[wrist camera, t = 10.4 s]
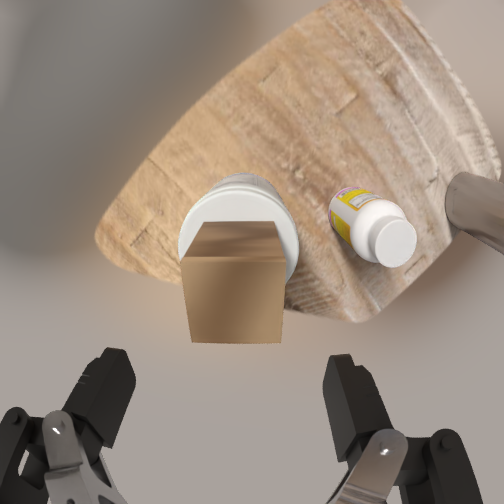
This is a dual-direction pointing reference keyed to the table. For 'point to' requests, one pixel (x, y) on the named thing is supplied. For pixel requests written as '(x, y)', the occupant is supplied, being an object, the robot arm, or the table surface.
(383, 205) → the supplement bottle
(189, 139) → the table surface
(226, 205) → the supplement tub
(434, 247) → the table surface
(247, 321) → the walnut block
